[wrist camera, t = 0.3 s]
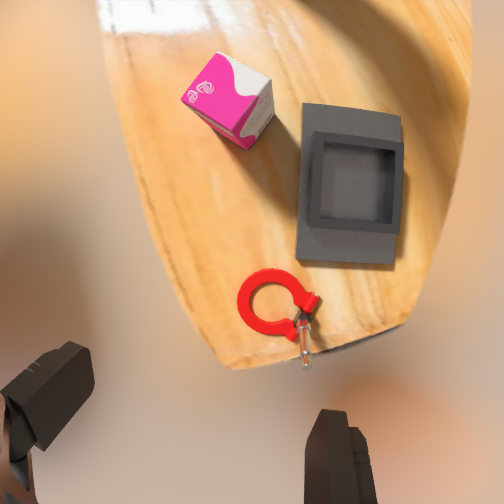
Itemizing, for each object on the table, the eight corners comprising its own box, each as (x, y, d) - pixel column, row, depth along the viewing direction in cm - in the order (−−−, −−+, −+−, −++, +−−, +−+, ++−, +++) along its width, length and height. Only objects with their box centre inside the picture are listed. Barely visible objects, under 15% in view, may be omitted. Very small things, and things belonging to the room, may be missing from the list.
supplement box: (235, 88, 32) (218, 47, 21) (276, 114, 33) (276, 79, 21) (207, 126, 34) (177, 99, 22) (247, 152, 34) (234, 133, 23)
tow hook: (228, 313, 38) (292, 343, 38) (201, 363, 26) (292, 403, 25) (256, 255, 37) (323, 289, 36) (239, 284, 24) (340, 332, 24)
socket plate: (301, 106, 32) (305, 94, 28) (396, 118, 31) (410, 110, 27) (294, 256, 36) (297, 265, 31) (388, 261, 35) (402, 270, 31)
